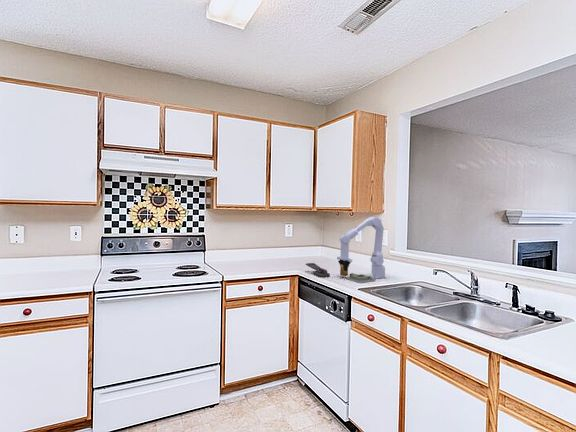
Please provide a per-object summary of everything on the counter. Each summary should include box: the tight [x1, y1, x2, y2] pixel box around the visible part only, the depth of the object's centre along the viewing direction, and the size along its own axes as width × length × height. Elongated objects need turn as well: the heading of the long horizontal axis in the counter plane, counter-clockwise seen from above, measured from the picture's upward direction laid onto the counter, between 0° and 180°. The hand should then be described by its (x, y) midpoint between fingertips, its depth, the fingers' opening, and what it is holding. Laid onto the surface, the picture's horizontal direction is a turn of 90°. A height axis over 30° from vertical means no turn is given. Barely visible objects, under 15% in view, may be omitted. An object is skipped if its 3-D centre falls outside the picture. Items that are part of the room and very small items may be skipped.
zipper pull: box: [305, 262, 331, 279], centre depth 248 cm, size 9×7×25 cm
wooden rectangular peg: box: [339, 264, 349, 277], centre depth 237 cm, size 4×3×8 cm, turn 120°
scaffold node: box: [345, 272, 377, 284], centre depth 231 cm, size 14×17×4 cm
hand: (344, 270), depth 237 cm, fingers closed on wooden rectangular peg, 3 cm apart
